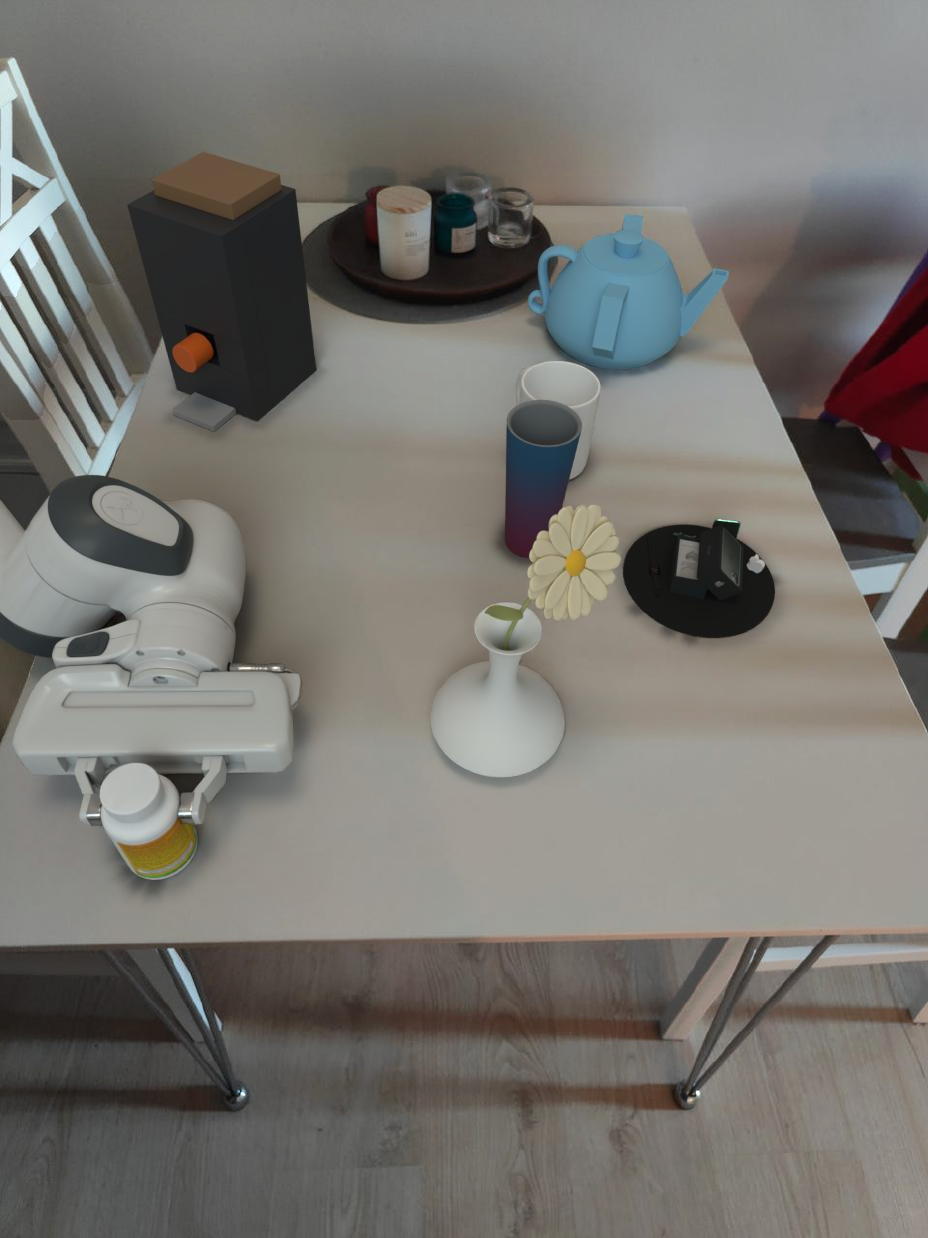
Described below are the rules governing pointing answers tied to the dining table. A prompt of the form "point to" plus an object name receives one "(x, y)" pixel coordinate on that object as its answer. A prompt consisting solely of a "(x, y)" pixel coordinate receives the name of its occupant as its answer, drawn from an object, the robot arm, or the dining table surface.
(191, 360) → the power button
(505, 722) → the flower in vase
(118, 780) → the supplement bottle
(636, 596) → the black round display stand
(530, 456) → the cup
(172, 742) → the robot arm
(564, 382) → the mug
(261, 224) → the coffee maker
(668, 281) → the teapot
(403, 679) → the dining table surface
